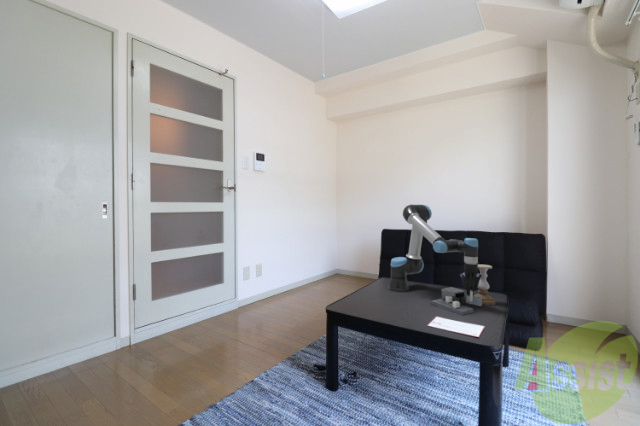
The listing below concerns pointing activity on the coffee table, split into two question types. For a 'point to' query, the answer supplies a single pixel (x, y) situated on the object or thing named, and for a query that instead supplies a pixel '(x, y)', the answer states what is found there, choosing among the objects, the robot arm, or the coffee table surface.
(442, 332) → the coffee table surface
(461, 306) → the console
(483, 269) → the candle holder
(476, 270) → the robot arm
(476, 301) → the door
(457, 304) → the fader
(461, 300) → the cabinet
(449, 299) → the fader
